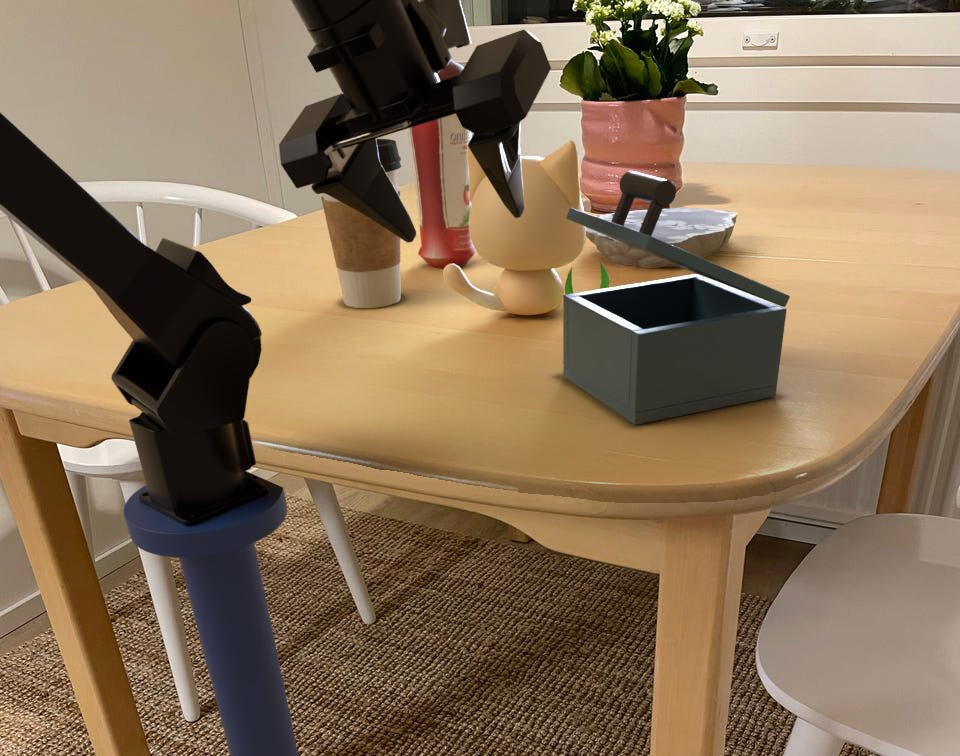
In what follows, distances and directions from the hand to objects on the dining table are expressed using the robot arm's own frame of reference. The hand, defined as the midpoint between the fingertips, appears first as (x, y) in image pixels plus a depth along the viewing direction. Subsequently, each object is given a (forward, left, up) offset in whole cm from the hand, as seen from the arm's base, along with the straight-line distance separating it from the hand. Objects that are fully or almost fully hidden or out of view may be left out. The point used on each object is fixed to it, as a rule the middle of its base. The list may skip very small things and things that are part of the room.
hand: (464, 226), depth 67 cm
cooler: (+10, -11, -12) cm, 19 cm away
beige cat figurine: (+20, +11, -12) cm, 26 cm away
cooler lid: (+10, -11, -3) cm, 15 cm away
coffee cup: (+14, +28, -12) cm, 33 cm away
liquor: (+30, +33, -12) cm, 46 cm away
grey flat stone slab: (+47, +16, -12) cm, 51 cm away
